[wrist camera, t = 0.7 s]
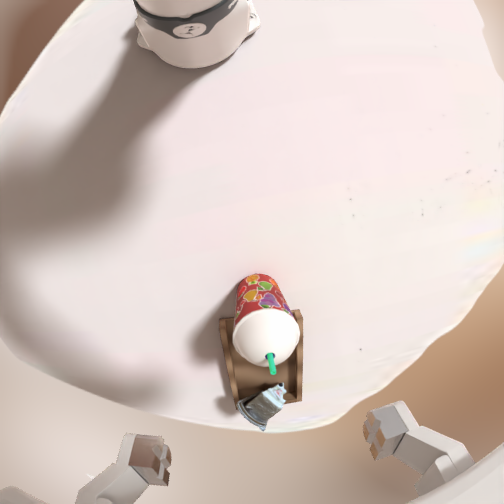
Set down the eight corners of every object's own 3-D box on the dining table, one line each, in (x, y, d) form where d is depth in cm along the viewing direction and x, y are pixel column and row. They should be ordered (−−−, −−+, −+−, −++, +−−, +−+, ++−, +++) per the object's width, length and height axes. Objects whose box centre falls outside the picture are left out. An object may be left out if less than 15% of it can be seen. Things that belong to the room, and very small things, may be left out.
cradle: (219, 319, 47) (219, 328, 45) (299, 309, 48) (302, 318, 45) (235, 399, 55) (236, 409, 52) (299, 391, 55) (301, 401, 52)
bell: (292, 374, 53) (304, 417, 42) (271, 393, 55) (278, 436, 43) (256, 356, 51) (261, 402, 40) (235, 377, 52) (236, 422, 41)
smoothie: (231, 311, 47) (233, 398, 28) (231, 265, 44) (232, 343, 25) (280, 310, 48) (306, 394, 29) (283, 265, 45) (317, 339, 26)
